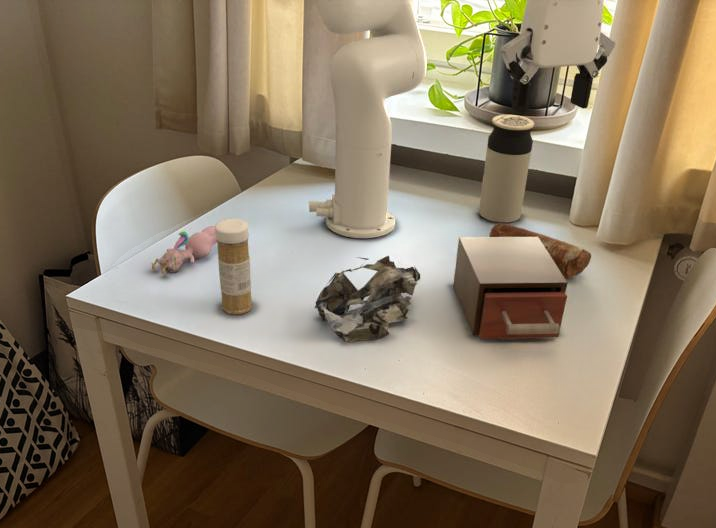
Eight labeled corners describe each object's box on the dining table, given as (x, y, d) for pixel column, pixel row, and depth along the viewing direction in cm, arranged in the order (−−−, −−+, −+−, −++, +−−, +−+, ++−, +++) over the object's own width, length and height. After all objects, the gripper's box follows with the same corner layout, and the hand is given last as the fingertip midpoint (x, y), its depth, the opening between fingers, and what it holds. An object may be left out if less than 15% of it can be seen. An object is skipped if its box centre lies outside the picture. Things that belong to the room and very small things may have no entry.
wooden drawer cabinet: (556, 334, 112) (567, 282, 107) (472, 335, 110) (479, 283, 105) (529, 285, 123) (538, 236, 119) (453, 286, 122) (458, 236, 117)
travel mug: (528, 215, 146) (544, 122, 136) (504, 227, 141) (519, 131, 131) (494, 203, 150) (507, 111, 140) (470, 214, 145) (482, 119, 135)
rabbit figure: (174, 288, 119) (242, 243, 128) (164, 256, 115) (235, 212, 124) (148, 275, 122) (216, 232, 131) (138, 244, 118) (209, 201, 127)
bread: (567, 287, 123) (574, 256, 120) (481, 244, 135) (485, 214, 132) (591, 276, 127) (598, 246, 124) (505, 235, 138) (510, 206, 135)
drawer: (569, 356, 105) (578, 314, 101) (488, 358, 104) (495, 316, 100) (532, 290, 120) (539, 251, 116) (461, 291, 119) (466, 252, 115)
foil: (307, 279, 114) (394, 231, 111) (345, 333, 119) (429, 288, 116) (303, 317, 104) (399, 265, 101) (345, 373, 110) (437, 326, 106)
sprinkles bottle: (244, 297, 116) (239, 214, 108) (258, 311, 113) (254, 227, 105) (216, 305, 113) (208, 221, 106) (229, 319, 110) (223, 234, 103)
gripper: (608, -35, 101) (584, 96, 111) (496, -34, 95) (481, 106, 105) (646, -27, 96) (617, 111, 105) (529, -25, 90) (510, 122, 99)
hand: (549, 108), depth 105 cm, fingers open, 9 cm apart
